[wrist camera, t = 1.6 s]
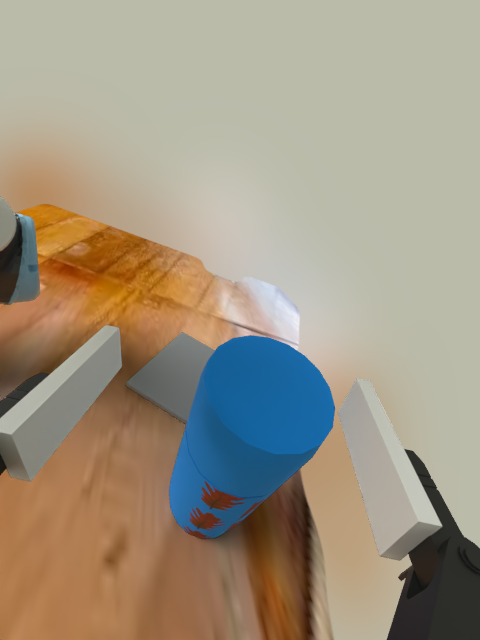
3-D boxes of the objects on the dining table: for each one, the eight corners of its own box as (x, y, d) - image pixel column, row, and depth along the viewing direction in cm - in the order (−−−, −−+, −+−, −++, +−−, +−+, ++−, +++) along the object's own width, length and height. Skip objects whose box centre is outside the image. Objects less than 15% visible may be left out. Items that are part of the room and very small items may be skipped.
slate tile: (125, 385, 43) (125, 382, 43) (181, 335, 55) (182, 331, 55) (206, 437, 40) (207, 434, 40) (245, 371, 53) (247, 368, 52)
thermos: (195, 436, 40) (237, 317, 25) (256, 472, 39) (341, 370, 23) (150, 511, 32) (171, 403, 16) (225, 561, 30) (328, 494, 15)
